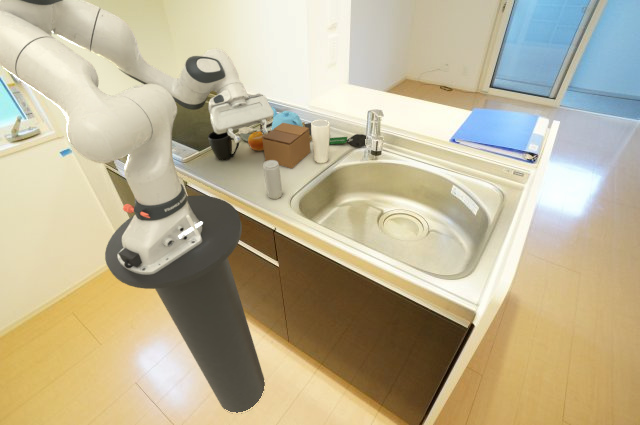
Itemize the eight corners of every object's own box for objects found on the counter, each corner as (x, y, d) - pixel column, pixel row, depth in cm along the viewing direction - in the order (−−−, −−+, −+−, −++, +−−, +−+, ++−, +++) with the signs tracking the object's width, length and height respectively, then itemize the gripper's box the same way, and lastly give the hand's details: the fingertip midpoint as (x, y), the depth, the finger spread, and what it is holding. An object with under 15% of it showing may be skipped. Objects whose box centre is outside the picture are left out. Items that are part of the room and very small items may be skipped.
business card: (346, 143, 128) (347, 137, 132) (345, 142, 128) (347, 136, 132) (325, 144, 131) (327, 138, 134) (325, 144, 131) (327, 138, 134)
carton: (292, 168, 116) (289, 143, 110) (265, 161, 121) (261, 136, 114) (310, 152, 126) (309, 127, 120) (285, 146, 130) (282, 122, 124)
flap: (289, 144, 110) (289, 143, 110) (262, 137, 115) (262, 136, 114) (299, 136, 115) (299, 135, 115) (272, 130, 120) (272, 129, 119)
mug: (236, 165, 119) (230, 142, 113) (209, 160, 123) (203, 137, 117) (247, 155, 125) (242, 132, 119) (221, 150, 128) (216, 128, 123)
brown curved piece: (258, 137, 144) (279, 140, 142) (256, 128, 139) (277, 131, 137) (268, 118, 151) (288, 120, 149) (266, 108, 146) (286, 111, 144)
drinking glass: (309, 163, 119) (307, 125, 110) (316, 155, 124) (315, 118, 115) (326, 166, 117) (326, 128, 108) (332, 157, 122) (332, 120, 113)
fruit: (251, 134, 132) (252, 123, 124) (271, 141, 133) (273, 130, 126) (245, 150, 128) (245, 140, 121) (265, 157, 130) (267, 148, 122)
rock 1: (237, 135, 135) (246, 130, 137) (238, 139, 136) (247, 134, 139) (251, 142, 130) (260, 137, 133) (252, 146, 132) (260, 141, 135)
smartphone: (329, 136, 136) (318, 123, 148) (329, 134, 136) (318, 121, 147) (313, 139, 135) (303, 125, 146) (312, 137, 134) (303, 124, 145)
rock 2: (358, 140, 135) (360, 151, 134) (345, 140, 131) (347, 151, 130) (371, 131, 127) (374, 143, 126) (358, 130, 123) (360, 142, 123)
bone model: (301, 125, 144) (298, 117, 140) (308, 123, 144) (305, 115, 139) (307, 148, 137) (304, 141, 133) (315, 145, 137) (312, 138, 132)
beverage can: (285, 196, 103) (281, 164, 95) (272, 201, 101) (267, 169, 93) (278, 189, 106) (274, 158, 98) (265, 194, 104) (260, 162, 96)
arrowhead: (259, 133, 140) (250, 127, 147) (258, 129, 139) (249, 122, 145) (242, 138, 137) (234, 131, 143) (241, 133, 135) (232, 127, 142)
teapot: (281, 101, 140) (309, 111, 130) (283, 124, 147) (310, 135, 137) (258, 109, 133) (287, 121, 123) (262, 133, 140) (289, 145, 130)
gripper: (261, 97, 109) (278, 133, 108) (203, 111, 100) (221, 150, 100) (265, 87, 103) (283, 125, 103) (204, 101, 94) (223, 142, 94)
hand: (252, 138), depth 101 cm, fingers open, 8 cm apart
